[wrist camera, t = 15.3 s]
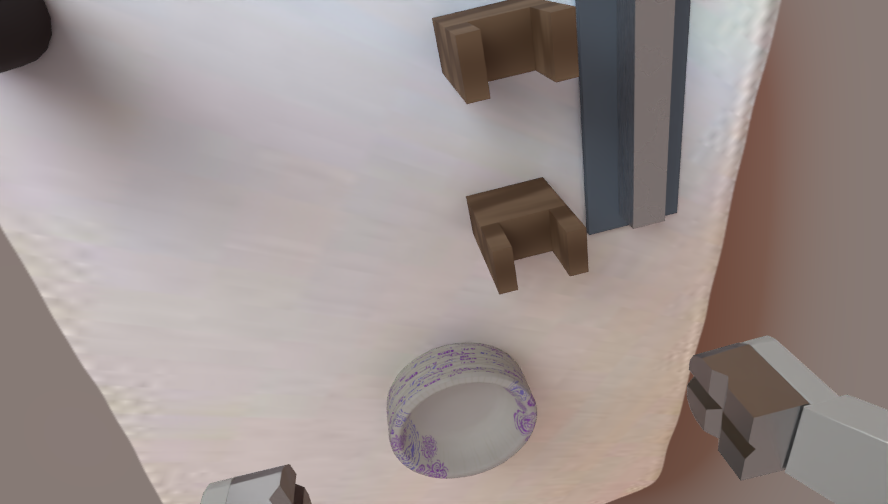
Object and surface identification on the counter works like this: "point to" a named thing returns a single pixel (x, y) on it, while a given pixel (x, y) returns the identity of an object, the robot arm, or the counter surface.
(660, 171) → the rail
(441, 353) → the paper bowls
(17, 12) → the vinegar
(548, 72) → the cradles
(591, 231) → the mat
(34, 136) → the counter surface
